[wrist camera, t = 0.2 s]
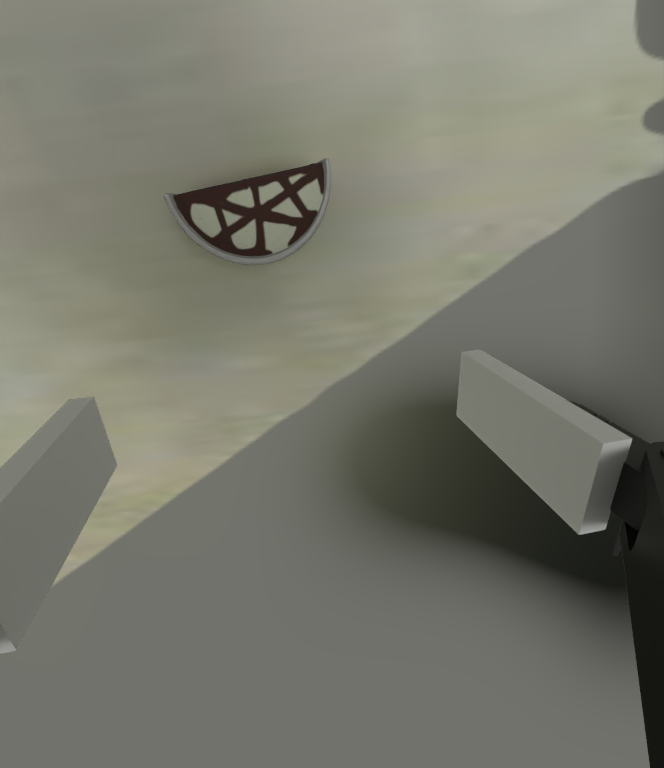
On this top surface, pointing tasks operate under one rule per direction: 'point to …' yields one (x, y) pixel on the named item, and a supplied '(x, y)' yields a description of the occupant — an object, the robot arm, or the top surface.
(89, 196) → the top surface
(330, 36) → the top surface
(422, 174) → the top surface
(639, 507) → the robot arm
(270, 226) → the brown semicircular wedge
